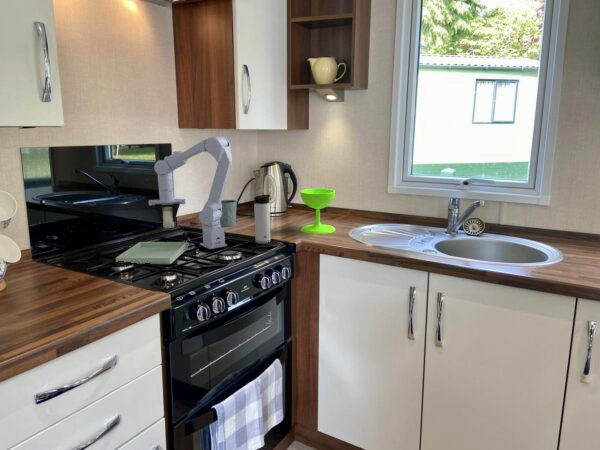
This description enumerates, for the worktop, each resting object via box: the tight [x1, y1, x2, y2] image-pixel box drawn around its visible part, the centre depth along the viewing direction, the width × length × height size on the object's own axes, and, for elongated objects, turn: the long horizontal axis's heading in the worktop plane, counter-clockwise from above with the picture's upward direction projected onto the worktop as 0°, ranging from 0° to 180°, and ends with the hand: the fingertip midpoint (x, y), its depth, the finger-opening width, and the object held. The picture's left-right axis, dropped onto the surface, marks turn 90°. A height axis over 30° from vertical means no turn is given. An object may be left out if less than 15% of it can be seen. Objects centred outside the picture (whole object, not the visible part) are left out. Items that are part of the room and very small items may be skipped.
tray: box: [115, 241, 189, 265], centre depth 183 cm, size 22×20×2 cm
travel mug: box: [253, 194, 271, 245], centre depth 198 cm, size 6×7×20 cm
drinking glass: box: [220, 199, 238, 228], centre depth 229 cm, size 10×10×12 cm
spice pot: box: [162, 206, 175, 229], centre depth 198 cm, size 5×5×8 cm
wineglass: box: [299, 188, 336, 235], centre depth 218 cm, size 16×16×18 cm
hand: (168, 221), depth 199 cm, fingers closed on spice pot, 4 cm apart
